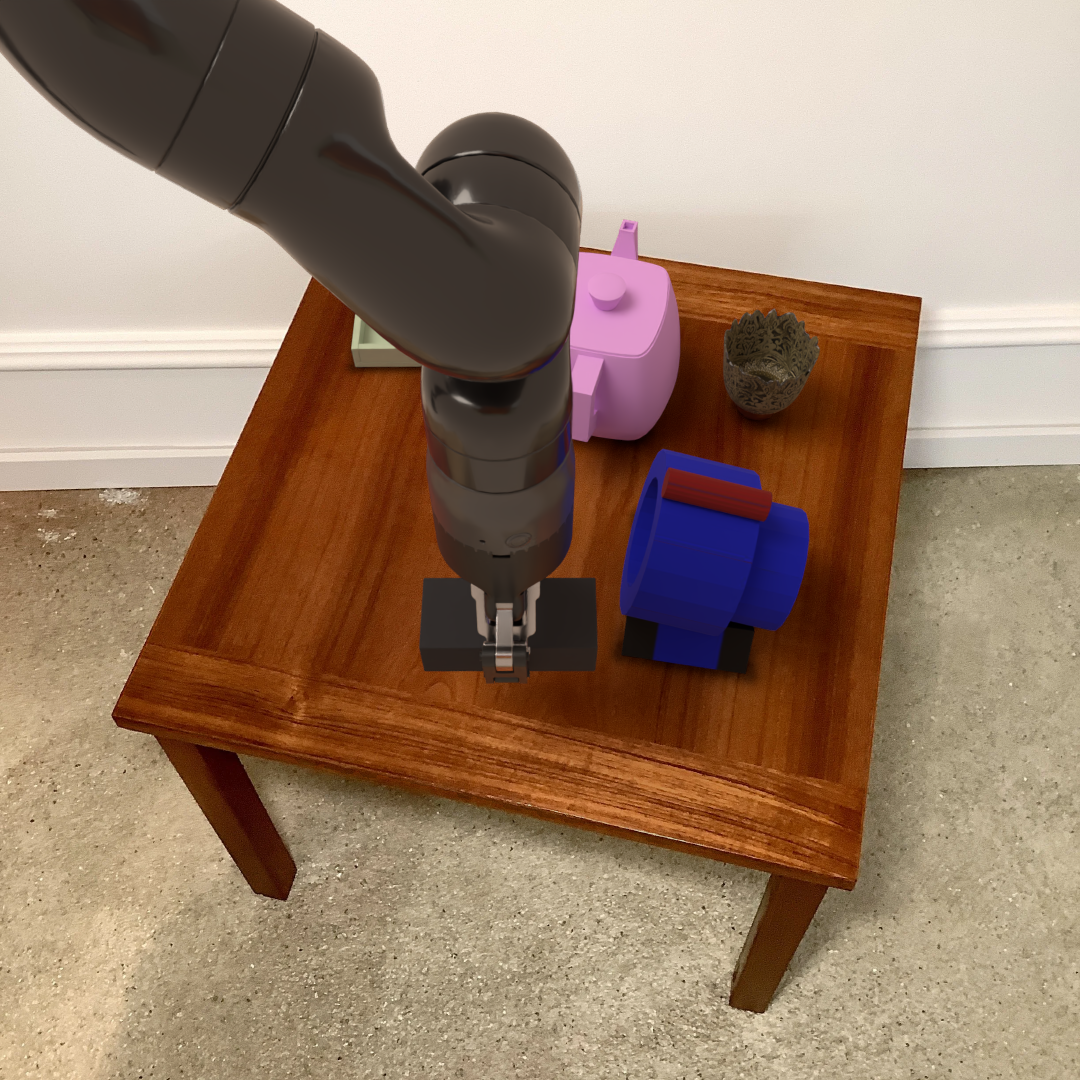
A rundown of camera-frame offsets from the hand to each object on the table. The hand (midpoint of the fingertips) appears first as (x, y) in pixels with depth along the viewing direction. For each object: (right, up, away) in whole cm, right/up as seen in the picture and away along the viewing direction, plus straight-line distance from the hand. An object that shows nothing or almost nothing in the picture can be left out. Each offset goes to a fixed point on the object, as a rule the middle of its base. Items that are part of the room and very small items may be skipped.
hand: (510, 634), depth 71 cm
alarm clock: (+14, +2, +12) cm, 19 cm away
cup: (+20, +17, +22) cm, 34 cm away
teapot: (+7, +19, +23) cm, 30 cm away
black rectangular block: (0, 0, 0) cm, 0 cm away
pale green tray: (-9, +27, +28) cm, 40 cm away
